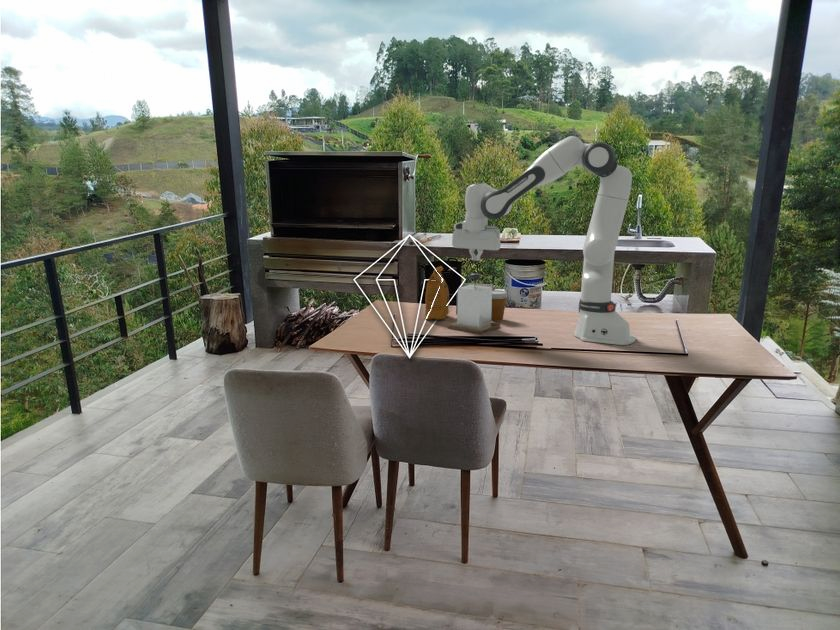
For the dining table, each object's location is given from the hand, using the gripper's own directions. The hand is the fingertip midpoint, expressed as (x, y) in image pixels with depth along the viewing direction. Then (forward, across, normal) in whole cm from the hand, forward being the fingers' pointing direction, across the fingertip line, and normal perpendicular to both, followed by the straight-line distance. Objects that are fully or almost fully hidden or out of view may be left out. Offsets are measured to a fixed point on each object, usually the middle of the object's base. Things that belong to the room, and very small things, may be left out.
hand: (475, 260), depth 238 cm
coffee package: (+27, +22, -6) cm, 36 cm away
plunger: (+24, 0, 0) cm, 24 cm away
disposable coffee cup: (+28, 0, -18) cm, 33 cm away
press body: (+27, 0, 0) cm, 27 cm away
